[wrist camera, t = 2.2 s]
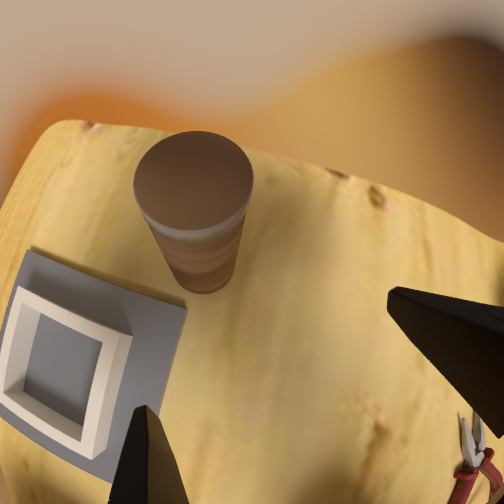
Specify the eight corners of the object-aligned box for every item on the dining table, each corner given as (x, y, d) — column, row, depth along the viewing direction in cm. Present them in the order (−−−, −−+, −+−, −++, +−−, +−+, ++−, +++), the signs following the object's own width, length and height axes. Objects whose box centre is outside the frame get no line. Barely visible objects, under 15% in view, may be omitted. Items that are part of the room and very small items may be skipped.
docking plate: (141, 489, 16) (129, 510, 12) (-6, 406, 15) (-31, 408, 12) (187, 310, 21) (181, 301, 18) (32, 252, 21) (9, 236, 17)
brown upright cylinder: (225, 302, 22) (234, 246, 11) (162, 283, 22) (113, 212, 11) (242, 242, 24) (265, 145, 12) (183, 226, 24) (162, 122, 12)
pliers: (490, 384, 22) (506, 384, 20) (492, 495, 16) (503, 498, 14) (426, 438, 20) (443, 442, 17) (433, 545, 14) (444, 551, 11)
